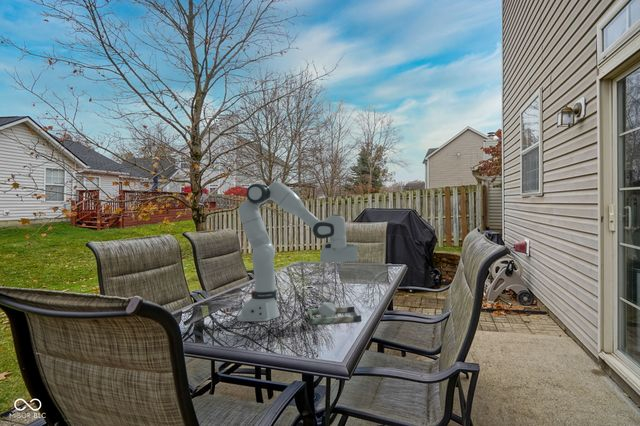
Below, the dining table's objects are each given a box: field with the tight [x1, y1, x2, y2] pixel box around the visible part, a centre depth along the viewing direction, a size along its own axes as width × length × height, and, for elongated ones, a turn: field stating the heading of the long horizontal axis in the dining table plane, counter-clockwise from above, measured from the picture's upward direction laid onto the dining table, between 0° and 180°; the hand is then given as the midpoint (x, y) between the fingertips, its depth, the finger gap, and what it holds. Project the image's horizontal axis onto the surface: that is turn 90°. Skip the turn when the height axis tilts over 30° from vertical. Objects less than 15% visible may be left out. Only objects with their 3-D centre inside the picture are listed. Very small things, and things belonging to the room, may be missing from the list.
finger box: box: [308, 306, 362, 325], centre depth 182 cm, size 25×19×3 cm
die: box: [317, 301, 337, 318], centre depth 182 cm, size 8×9×10 cm
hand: (339, 270), depth 189 cm, fingers closed
